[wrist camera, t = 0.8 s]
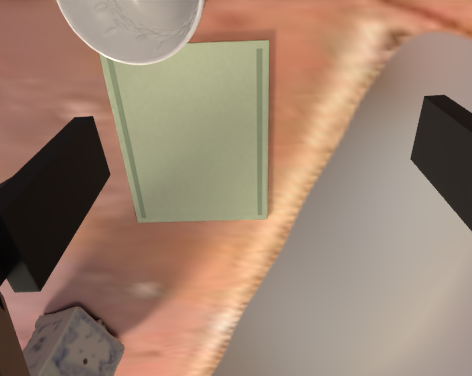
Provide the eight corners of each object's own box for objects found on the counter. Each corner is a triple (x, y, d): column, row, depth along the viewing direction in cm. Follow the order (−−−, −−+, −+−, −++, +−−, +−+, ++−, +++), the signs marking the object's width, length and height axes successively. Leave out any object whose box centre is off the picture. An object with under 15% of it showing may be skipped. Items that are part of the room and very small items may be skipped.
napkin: (98, 46, 29) (97, 46, 29) (268, 39, 29) (269, 40, 29) (138, 221, 39) (137, 222, 39) (267, 217, 38) (267, 219, 38)
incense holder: (33, 317, 47) (-14, 397, 39) (81, 297, 45) (43, 376, 36) (83, 356, 52) (51, 436, 43) (129, 339, 50) (105, 420, 41)
